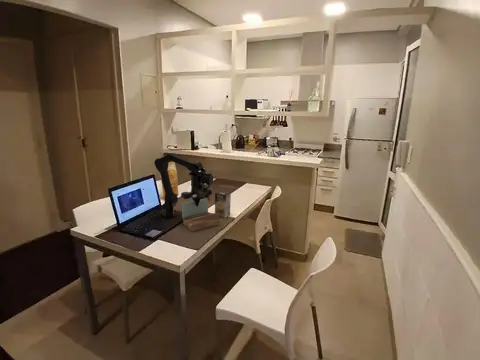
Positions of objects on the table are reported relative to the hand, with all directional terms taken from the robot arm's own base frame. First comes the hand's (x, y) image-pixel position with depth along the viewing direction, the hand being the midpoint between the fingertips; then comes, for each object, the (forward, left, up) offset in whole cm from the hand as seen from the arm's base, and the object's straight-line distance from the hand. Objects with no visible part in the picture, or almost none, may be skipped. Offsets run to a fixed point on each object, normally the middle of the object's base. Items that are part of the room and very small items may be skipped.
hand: (196, 206), depth 171 cm
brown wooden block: (+5, 0, -10) cm, 11 cm away
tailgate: (-2, 0, -7) cm, 8 cm away
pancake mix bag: (-53, +2, -10) cm, 54 cm away
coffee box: (0, +19, -10) cm, 22 cm away
